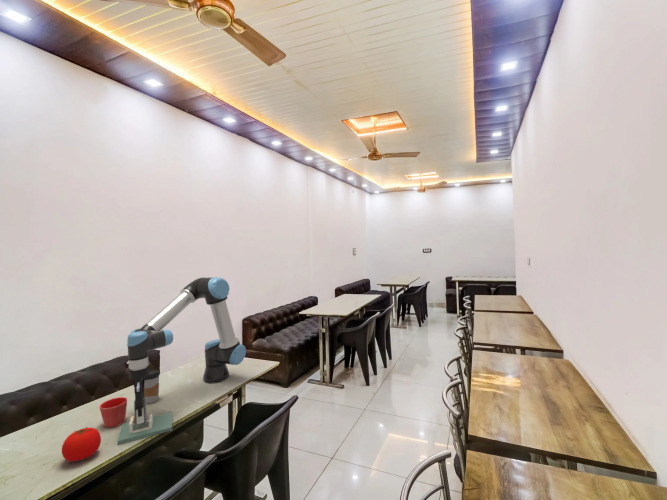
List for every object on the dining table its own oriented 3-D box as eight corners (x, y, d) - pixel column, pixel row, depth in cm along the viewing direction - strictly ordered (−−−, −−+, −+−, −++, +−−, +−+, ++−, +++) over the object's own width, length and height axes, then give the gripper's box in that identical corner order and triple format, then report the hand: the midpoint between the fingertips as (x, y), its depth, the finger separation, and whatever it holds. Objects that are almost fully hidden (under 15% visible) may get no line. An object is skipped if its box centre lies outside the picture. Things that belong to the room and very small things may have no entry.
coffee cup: (152, 405, 165) (151, 376, 165) (138, 404, 167) (137, 375, 167) (164, 397, 173) (162, 369, 173) (150, 396, 175) (149, 369, 175)
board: (172, 415, 153) (171, 403, 153) (172, 430, 140) (171, 417, 140) (122, 427, 145) (122, 415, 144) (117, 444, 131) (116, 431, 131)
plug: (146, 418, 144) (145, 396, 144) (145, 422, 140) (144, 400, 140) (134, 421, 142) (133, 399, 142) (133, 425, 138) (132, 402, 138)
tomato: (99, 444, 132) (98, 418, 132) (103, 457, 123) (101, 430, 123) (62, 457, 124) (60, 430, 124) (62, 472, 116) (61, 443, 116)
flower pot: (98, 432, 141) (97, 410, 141) (102, 421, 151) (101, 400, 151) (126, 425, 146) (125, 404, 146) (129, 414, 156) (128, 394, 156)
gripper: (131, 363, 147) (133, 414, 147) (126, 375, 132) (128, 432, 132) (149, 360, 151) (152, 410, 151) (147, 372, 135) (149, 427, 135)
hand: (141, 420), depth 141 cm, fingers closed on plug, 4 cm apart
